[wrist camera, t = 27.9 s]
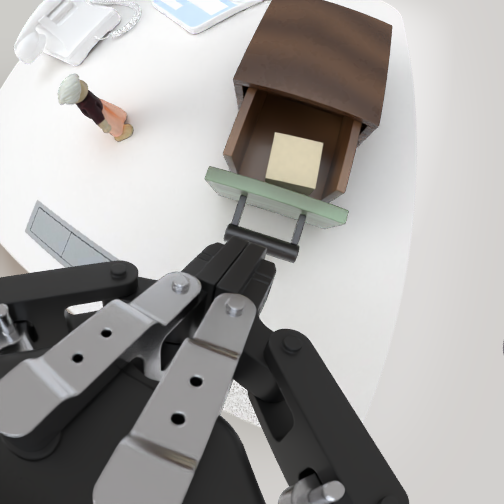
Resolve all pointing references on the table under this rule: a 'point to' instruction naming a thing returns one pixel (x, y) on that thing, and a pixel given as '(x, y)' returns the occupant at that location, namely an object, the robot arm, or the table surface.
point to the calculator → (200, 11)
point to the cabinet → (320, 59)
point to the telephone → (69, 29)
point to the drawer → (257, 158)
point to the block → (294, 163)
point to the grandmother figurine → (94, 107)
